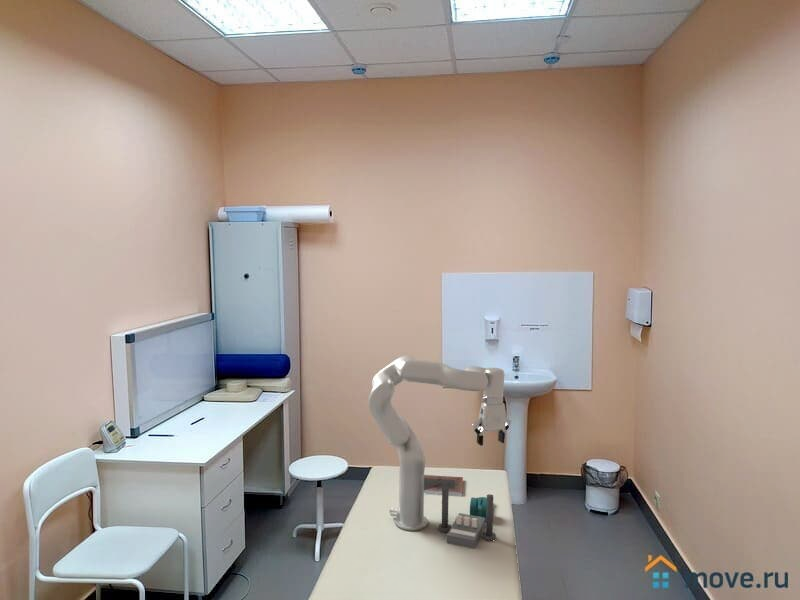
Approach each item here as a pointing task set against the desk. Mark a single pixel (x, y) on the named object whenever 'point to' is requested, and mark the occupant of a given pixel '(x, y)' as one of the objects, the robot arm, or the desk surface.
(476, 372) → the robot arm
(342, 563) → the desk surface
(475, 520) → the breaker bank
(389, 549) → the desk surface
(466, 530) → the breaker panel
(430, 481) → the picture frame
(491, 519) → the post right
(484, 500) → the teal block
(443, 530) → the post left
